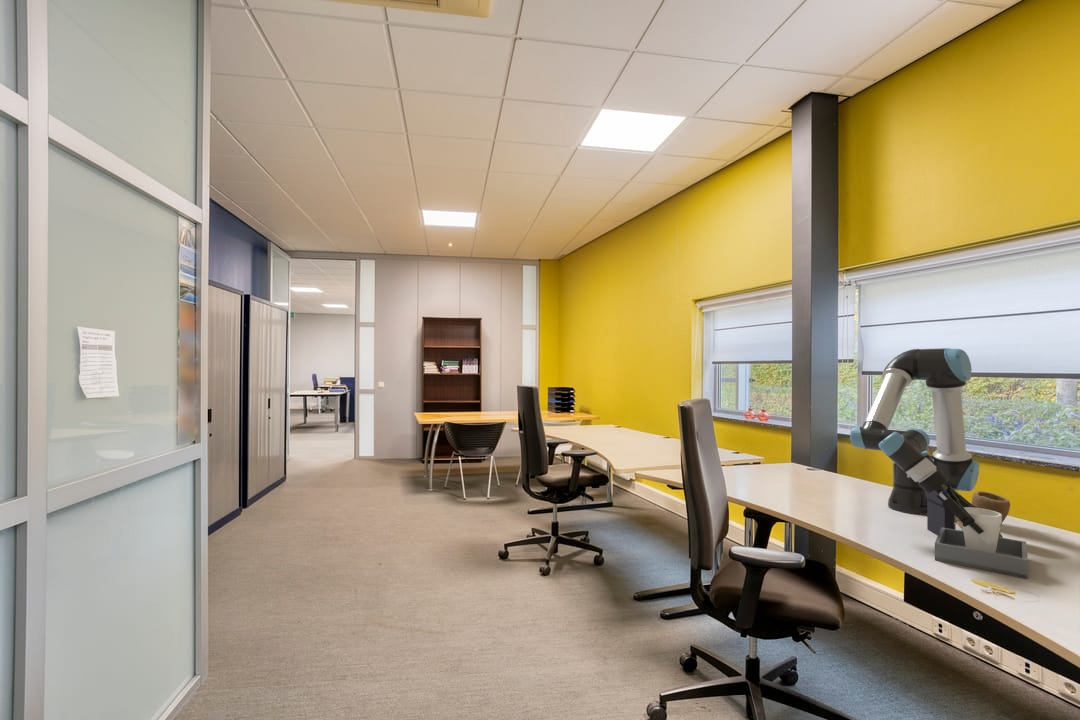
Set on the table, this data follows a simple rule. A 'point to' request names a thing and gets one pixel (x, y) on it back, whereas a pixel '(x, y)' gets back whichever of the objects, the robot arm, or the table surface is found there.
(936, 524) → the dark blue upright block
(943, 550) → the tray
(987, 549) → the foam cup
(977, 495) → the brown flared vessel
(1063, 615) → the table surface
